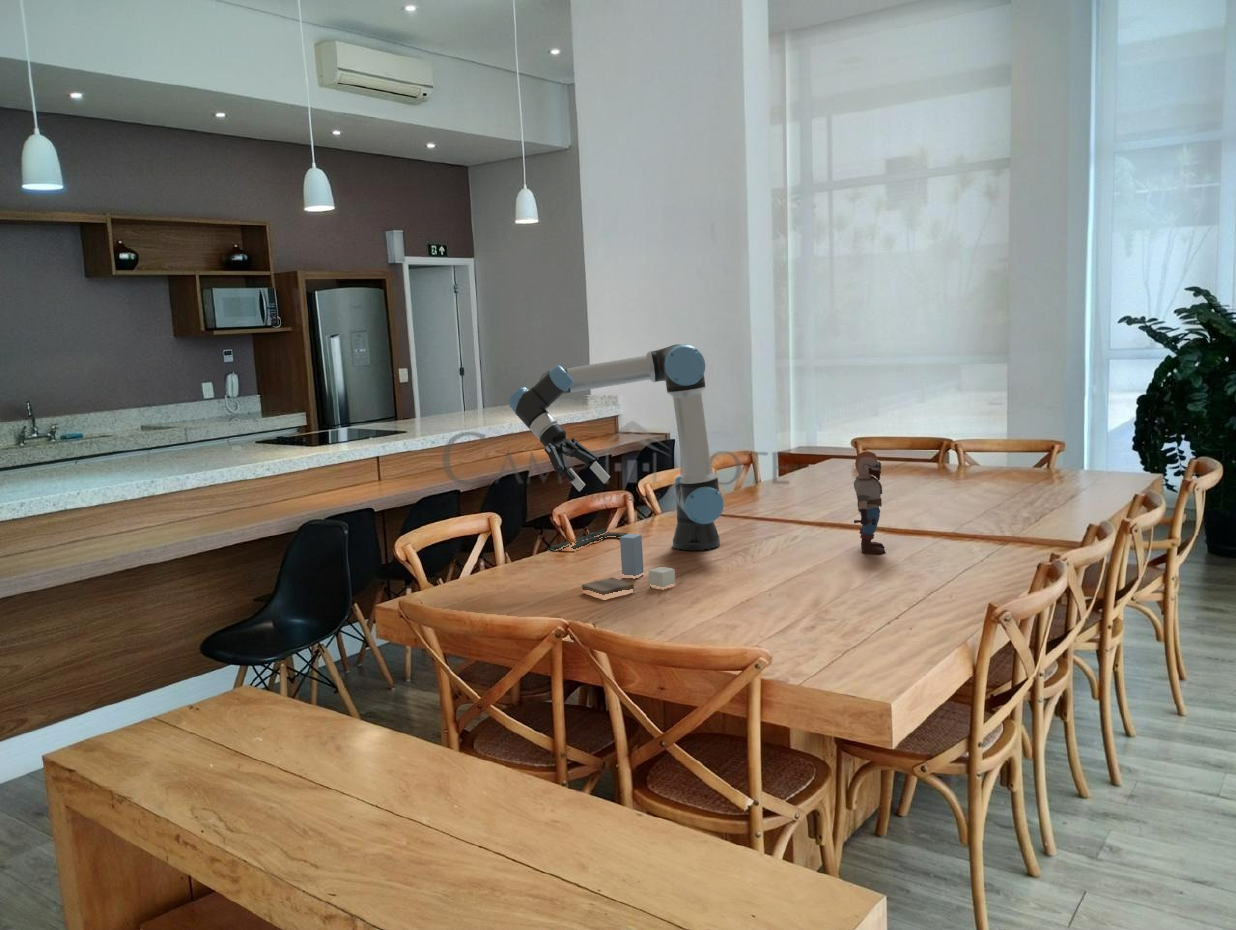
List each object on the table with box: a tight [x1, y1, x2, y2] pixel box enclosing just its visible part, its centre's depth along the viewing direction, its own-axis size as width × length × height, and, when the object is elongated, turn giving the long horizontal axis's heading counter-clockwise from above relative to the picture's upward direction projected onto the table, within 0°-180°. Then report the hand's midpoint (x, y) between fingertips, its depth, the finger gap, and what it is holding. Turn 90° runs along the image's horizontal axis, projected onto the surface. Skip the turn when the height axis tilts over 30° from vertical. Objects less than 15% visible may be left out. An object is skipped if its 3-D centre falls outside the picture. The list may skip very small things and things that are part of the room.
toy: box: [853, 451, 887, 555], centre depth 294 cm, size 22×9×30 cm, turn 168°
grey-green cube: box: [648, 566, 676, 587], centre depth 268 cm, size 5×5×5 cm
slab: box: [581, 577, 635, 595], centre depth 265 cm, size 10×10×3 cm
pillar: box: [619, 533, 645, 576], centre depth 281 cm, size 4×4×12 cm
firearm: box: [549, 528, 629, 552], centre depth 328 cm, size 28×2×15 cm
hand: (595, 484), depth 283 cm, fingers open, 13 cm apart
